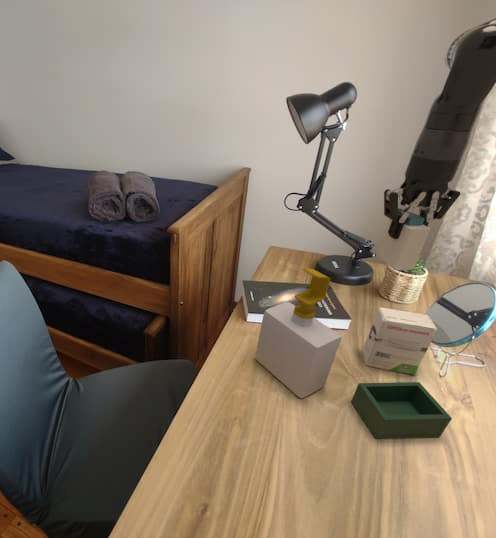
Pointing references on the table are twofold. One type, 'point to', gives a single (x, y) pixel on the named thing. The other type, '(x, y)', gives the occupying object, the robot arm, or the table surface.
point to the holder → (399, 410)
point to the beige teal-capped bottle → (404, 244)
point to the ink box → (398, 340)
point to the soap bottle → (298, 340)
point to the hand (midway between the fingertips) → (404, 236)
